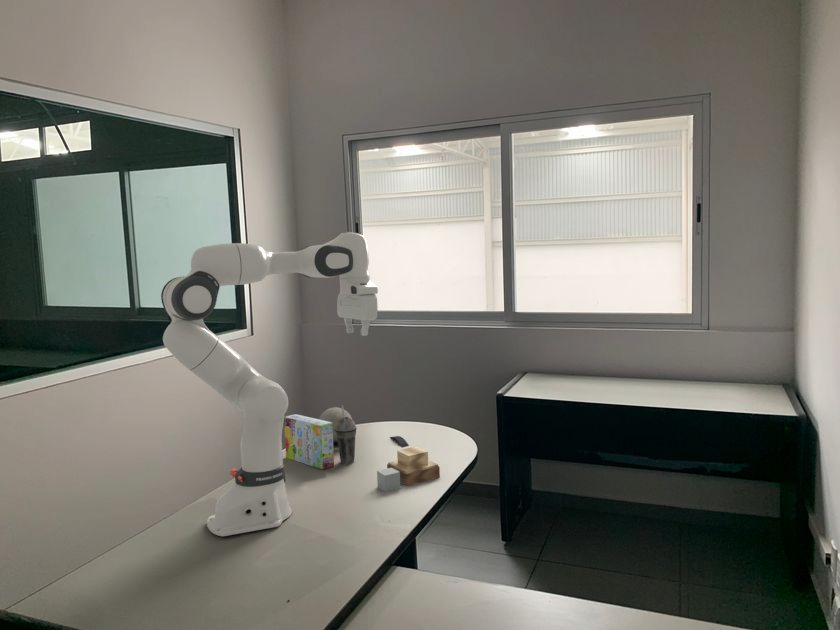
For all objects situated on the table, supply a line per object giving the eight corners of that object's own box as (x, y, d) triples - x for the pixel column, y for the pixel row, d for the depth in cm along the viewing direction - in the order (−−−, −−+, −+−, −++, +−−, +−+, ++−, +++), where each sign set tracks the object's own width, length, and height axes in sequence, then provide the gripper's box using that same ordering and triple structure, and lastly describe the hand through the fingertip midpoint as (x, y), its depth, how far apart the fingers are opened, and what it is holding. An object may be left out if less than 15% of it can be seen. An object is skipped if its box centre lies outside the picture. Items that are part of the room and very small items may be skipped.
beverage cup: (362, 461, 213) (359, 403, 211) (349, 467, 207) (346, 408, 205) (345, 458, 217) (343, 401, 215) (332, 464, 211) (329, 406, 209)
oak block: (409, 468, 191) (408, 456, 191) (397, 462, 197) (397, 450, 197) (428, 464, 195) (427, 451, 195) (416, 458, 201) (416, 446, 200)
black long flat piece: (400, 458, 217) (399, 448, 217) (376, 440, 240) (375, 431, 240) (423, 454, 221) (423, 444, 220) (397, 436, 244) (397, 428, 243)
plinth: (406, 485, 188) (406, 472, 188) (387, 474, 198) (386, 462, 198) (439, 477, 194) (439, 464, 194) (419, 467, 205) (419, 455, 204)
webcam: (361, 445, 231) (359, 405, 230) (339, 455, 220) (337, 413, 219) (333, 441, 238) (331, 402, 237) (311, 450, 227) (309, 410, 226)
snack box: (335, 466, 209) (333, 421, 208) (322, 470, 205) (320, 425, 204) (298, 454, 224) (295, 412, 222) (284, 458, 219) (282, 416, 218)
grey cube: (385, 492, 184) (385, 475, 183) (377, 487, 188) (377, 470, 188) (400, 488, 186) (399, 472, 186) (392, 483, 191) (391, 467, 190)
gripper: (330, 287, 191) (333, 332, 193) (360, 288, 174) (362, 338, 175) (349, 286, 195) (351, 330, 196) (380, 287, 177) (382, 336, 179)
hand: (357, 334), depth 186 cm, fingers open, 8 cm apart
